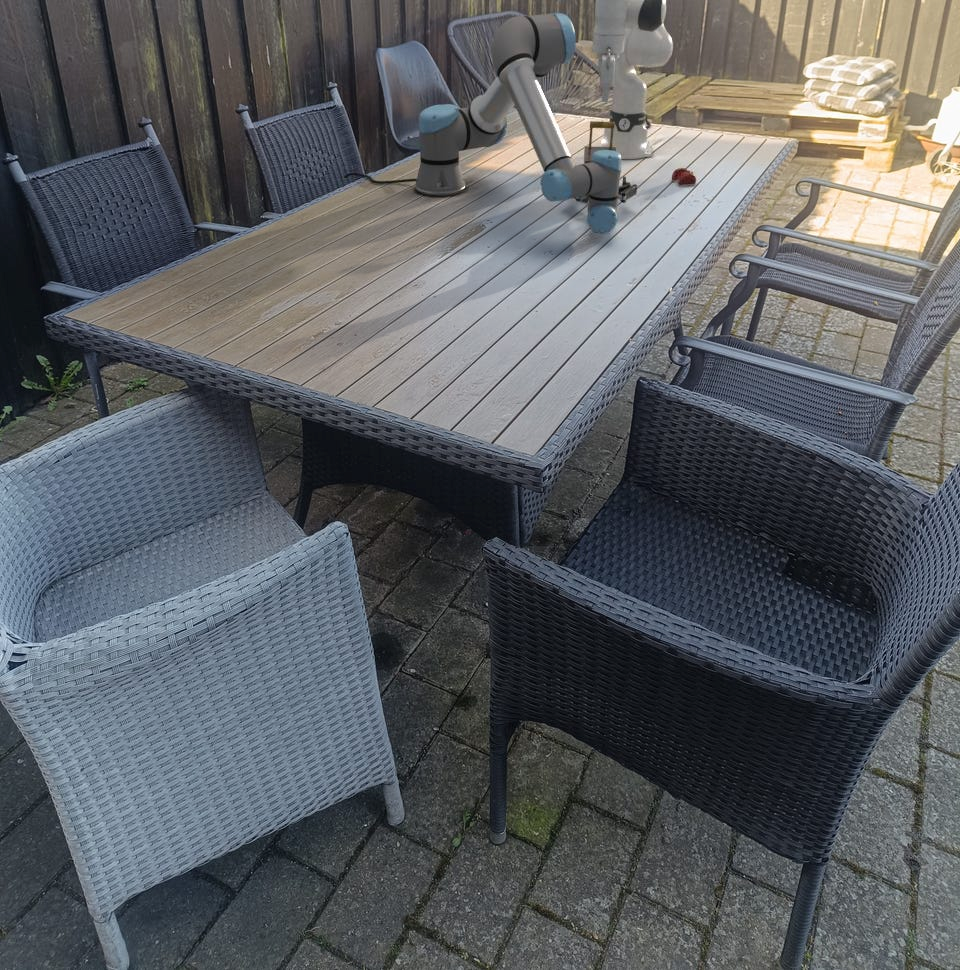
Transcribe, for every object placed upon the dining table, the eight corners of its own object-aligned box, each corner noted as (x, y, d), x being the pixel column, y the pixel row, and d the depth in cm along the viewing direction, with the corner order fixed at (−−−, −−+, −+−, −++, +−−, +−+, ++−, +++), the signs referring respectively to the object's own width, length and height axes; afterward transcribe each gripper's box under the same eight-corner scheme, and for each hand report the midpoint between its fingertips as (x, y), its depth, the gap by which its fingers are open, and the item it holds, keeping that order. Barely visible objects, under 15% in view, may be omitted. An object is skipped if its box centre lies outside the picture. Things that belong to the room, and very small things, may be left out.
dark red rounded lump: (687, 164, 265) (698, 171, 259) (685, 177, 268) (697, 185, 262) (670, 166, 264) (681, 173, 258) (669, 179, 267) (680, 187, 261)
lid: (584, 150, 257) (586, 119, 251) (615, 151, 256) (618, 120, 251) (584, 165, 243) (586, 133, 238) (617, 166, 242) (620, 133, 237)
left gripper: (554, 215, 231) (556, 192, 248) (646, 218, 229) (642, 194, 246) (556, 187, 227) (558, 166, 244) (649, 190, 225) (645, 168, 242)
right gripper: (621, 51, 229) (616, 105, 237) (618, 39, 245) (614, 91, 253) (597, 50, 229) (593, 105, 237) (596, 39, 246) (593, 90, 254)
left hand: (600, 180), depth 245 cm, fingers open, 13 cm apart
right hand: (604, 98), depth 245 cm, fingers open, 8 cm apart
